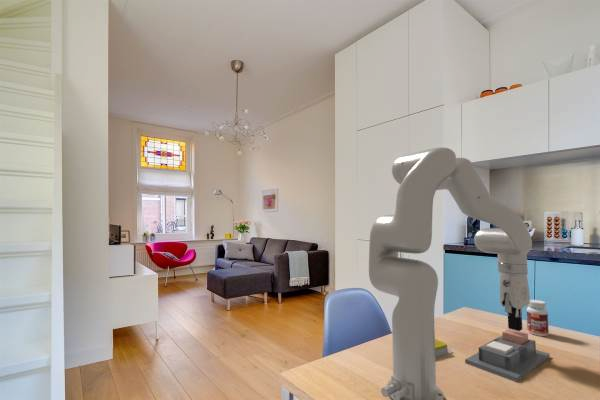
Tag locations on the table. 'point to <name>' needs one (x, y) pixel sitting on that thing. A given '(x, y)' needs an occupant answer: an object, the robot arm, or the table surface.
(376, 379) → the table surface
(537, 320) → the pill bottle
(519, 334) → the terracotta key
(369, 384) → the table surface
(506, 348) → the cream key
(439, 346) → the emergency button
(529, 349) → the key panel
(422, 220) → the robot arm
